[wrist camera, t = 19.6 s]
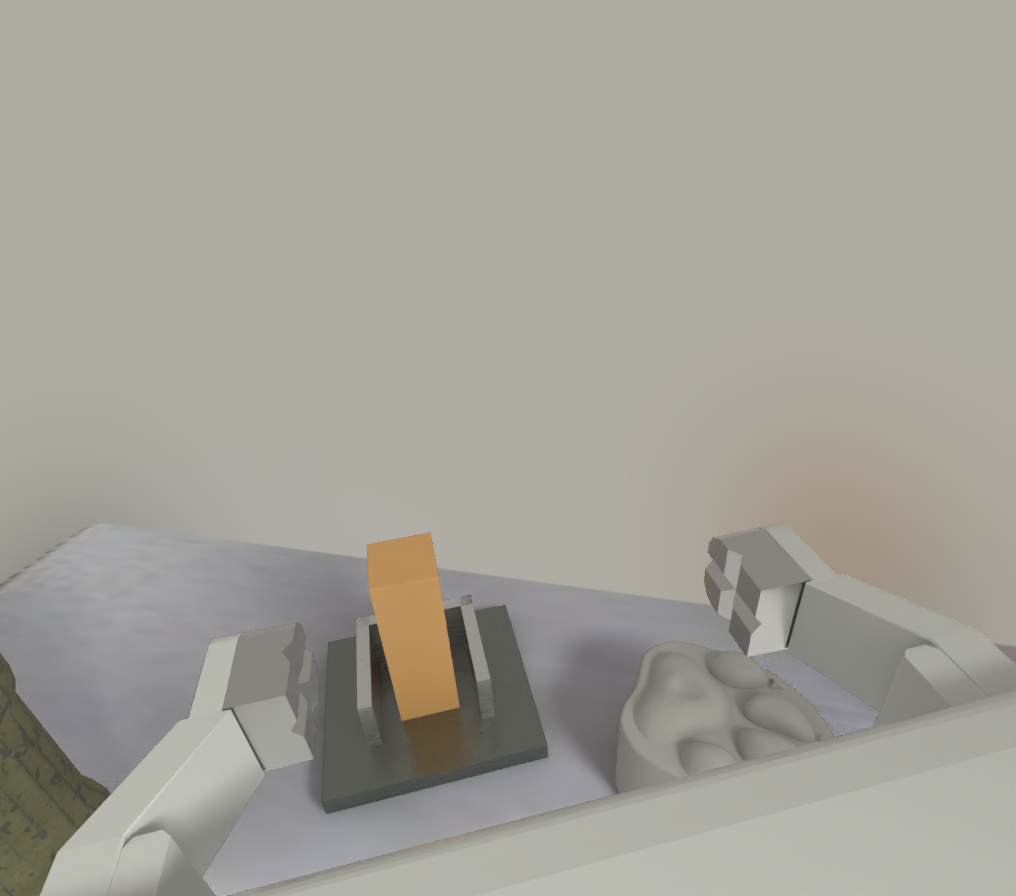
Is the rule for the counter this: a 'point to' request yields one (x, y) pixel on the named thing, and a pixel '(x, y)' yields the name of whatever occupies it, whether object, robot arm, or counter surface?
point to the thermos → (35, 795)
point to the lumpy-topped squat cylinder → (706, 715)
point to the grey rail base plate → (431, 738)
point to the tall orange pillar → (412, 624)
